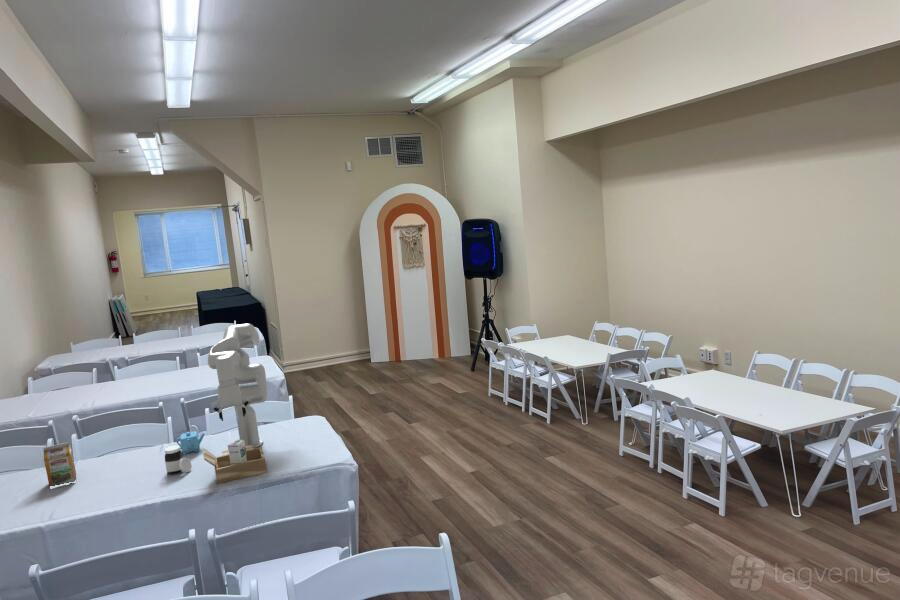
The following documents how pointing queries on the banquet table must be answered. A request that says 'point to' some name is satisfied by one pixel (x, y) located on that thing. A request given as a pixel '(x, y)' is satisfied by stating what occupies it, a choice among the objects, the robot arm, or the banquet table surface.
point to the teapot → (190, 442)
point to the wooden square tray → (240, 466)
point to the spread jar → (176, 460)
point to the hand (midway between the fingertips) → (233, 417)
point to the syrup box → (237, 452)
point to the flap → (209, 458)
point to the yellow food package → (59, 464)
